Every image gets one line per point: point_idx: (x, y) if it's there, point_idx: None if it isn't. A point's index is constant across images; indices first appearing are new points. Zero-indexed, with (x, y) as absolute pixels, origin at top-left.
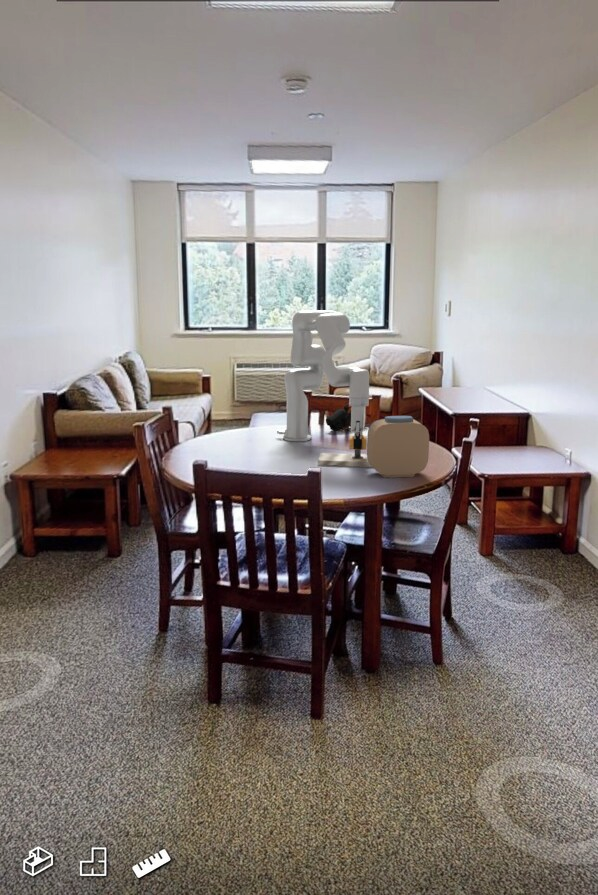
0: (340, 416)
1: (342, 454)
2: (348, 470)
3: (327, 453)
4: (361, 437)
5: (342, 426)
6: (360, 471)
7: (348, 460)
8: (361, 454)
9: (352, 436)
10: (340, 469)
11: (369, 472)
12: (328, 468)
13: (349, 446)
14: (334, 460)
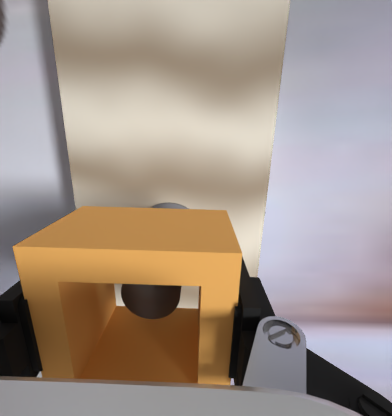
0: None
1: (247, 137)
2: (6, 181)
3: (276, 8)
4: (199, 360)
5: None
6: (8, 239)
7: (91, 183)
8: (253, 255)
9: (193, 278)
10: (11, 136)
11: (6, 276)
12: (8, 57)
13: (69, 214)
14: (68, 86)
